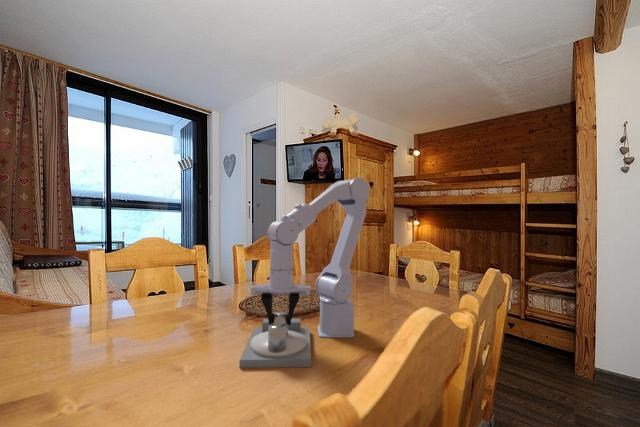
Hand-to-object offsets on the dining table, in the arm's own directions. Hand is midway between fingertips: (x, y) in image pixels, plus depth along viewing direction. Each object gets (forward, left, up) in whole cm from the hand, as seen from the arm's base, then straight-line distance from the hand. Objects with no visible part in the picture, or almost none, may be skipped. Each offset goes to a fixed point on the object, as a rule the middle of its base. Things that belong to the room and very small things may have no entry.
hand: (280, 323), depth 72 cm
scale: (0, +1, -5) cm, 5 cm away
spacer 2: (0, +8, -3) cm, 8 cm away
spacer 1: (0, 0, -3) cm, 3 cm away
